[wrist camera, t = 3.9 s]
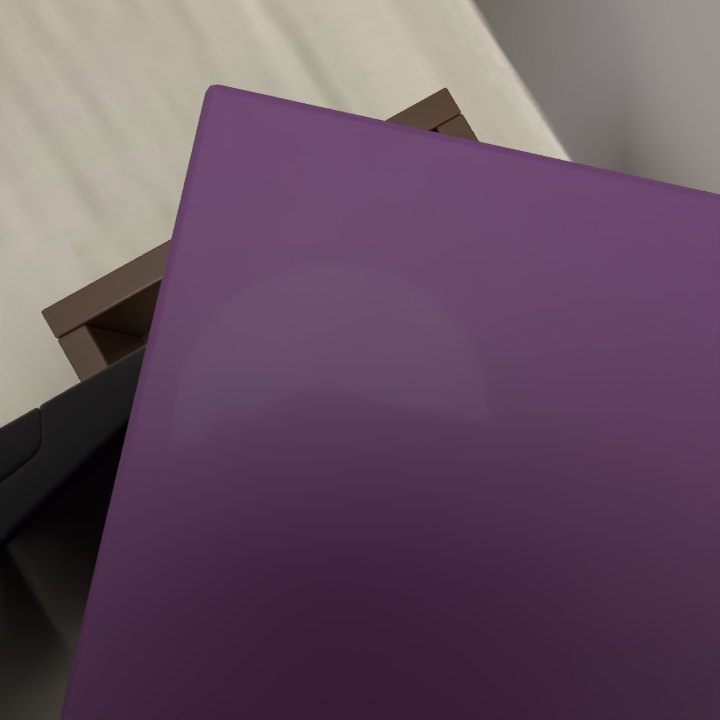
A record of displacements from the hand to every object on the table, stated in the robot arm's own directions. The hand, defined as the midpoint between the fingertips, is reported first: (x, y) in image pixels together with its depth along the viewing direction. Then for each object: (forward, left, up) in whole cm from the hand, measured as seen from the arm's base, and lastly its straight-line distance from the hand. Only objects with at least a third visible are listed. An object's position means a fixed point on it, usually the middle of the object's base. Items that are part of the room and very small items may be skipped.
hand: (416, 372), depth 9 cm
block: (-1, 0, -7) cm, 7 cm away
